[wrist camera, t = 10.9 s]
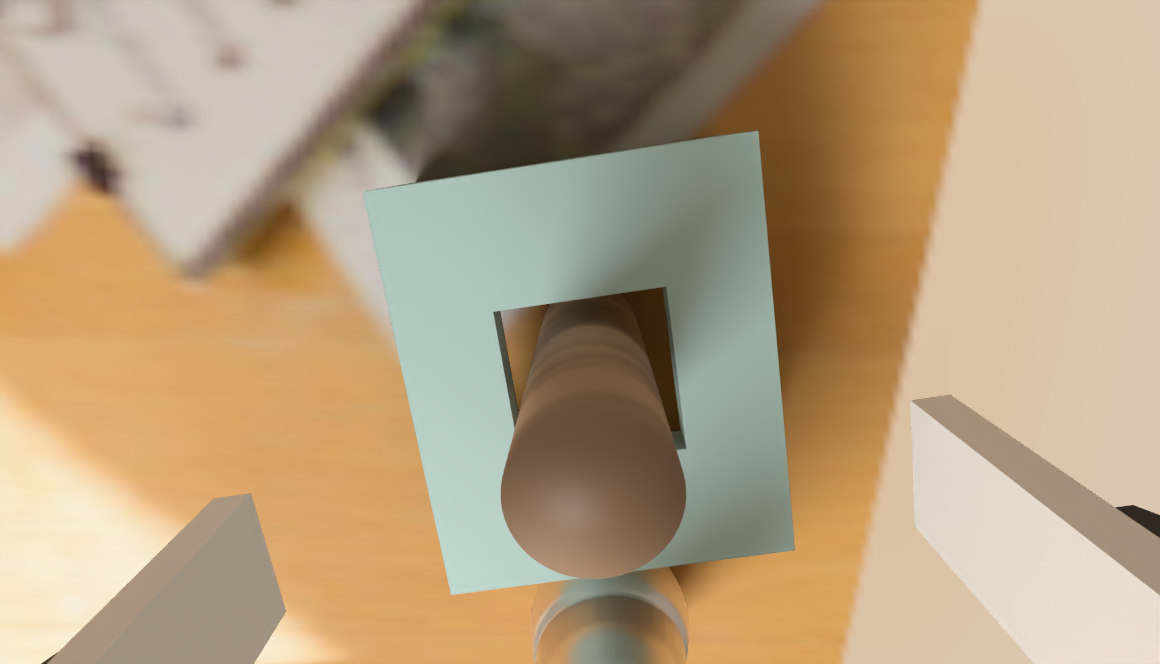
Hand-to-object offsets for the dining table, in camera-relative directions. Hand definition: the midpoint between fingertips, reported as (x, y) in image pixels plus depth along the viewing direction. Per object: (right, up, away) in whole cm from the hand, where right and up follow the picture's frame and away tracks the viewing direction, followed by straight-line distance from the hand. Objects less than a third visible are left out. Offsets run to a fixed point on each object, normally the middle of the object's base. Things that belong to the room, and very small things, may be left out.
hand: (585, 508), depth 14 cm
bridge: (0, +4, +16) cm, 16 cm away
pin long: (0, +4, +16) cm, 16 cm away
